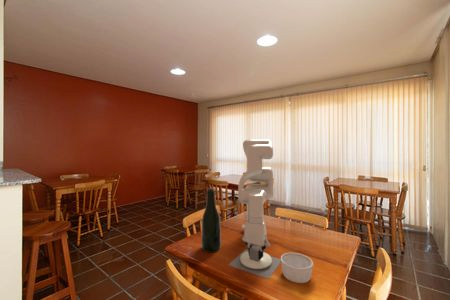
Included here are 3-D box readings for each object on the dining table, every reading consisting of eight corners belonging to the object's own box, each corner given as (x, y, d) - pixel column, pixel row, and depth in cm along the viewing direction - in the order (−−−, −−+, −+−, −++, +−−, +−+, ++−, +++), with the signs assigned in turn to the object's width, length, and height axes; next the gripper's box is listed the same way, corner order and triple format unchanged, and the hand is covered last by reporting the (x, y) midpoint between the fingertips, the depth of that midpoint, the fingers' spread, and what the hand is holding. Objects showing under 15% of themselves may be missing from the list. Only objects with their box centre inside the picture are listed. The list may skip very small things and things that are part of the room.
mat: (228, 265, 100) (228, 265, 100) (245, 249, 116) (245, 249, 116) (268, 279, 90) (268, 278, 90) (282, 260, 105) (282, 259, 105)
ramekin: (317, 275, 93) (317, 259, 93) (305, 290, 83) (305, 272, 83) (288, 264, 102) (288, 249, 102) (274, 276, 92) (274, 260, 92)
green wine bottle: (198, 251, 114) (198, 189, 114) (205, 242, 125) (205, 186, 124) (217, 254, 112) (216, 190, 111) (223, 245, 122) (222, 186, 121)
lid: (234, 262, 101) (234, 250, 101) (248, 249, 114) (248, 238, 113) (264, 273, 93) (264, 259, 93) (276, 257, 105) (276, 245, 105)
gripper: (236, 218, 104) (236, 255, 104) (269, 225, 95) (269, 265, 95) (243, 213, 110) (243, 248, 111) (275, 219, 101) (275, 258, 102)
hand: (255, 256), depth 103 cm, fingers closed on lid, 4 cm apart
